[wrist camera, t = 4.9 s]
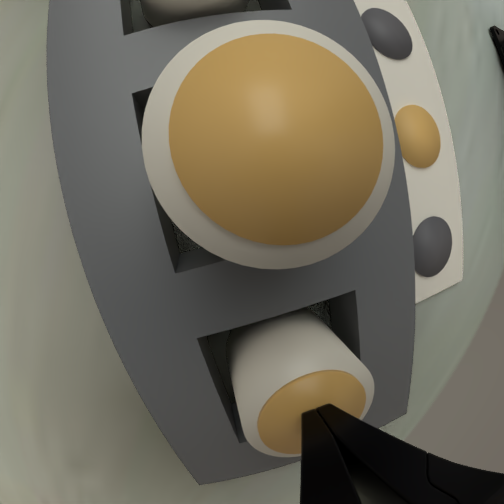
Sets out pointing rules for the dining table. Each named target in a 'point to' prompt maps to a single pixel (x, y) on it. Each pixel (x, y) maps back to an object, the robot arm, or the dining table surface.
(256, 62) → the button
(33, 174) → the dining table surface
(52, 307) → the dining table surface
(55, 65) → the board
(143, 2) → the button
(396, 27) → the card
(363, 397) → the button
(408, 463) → the robot arm
